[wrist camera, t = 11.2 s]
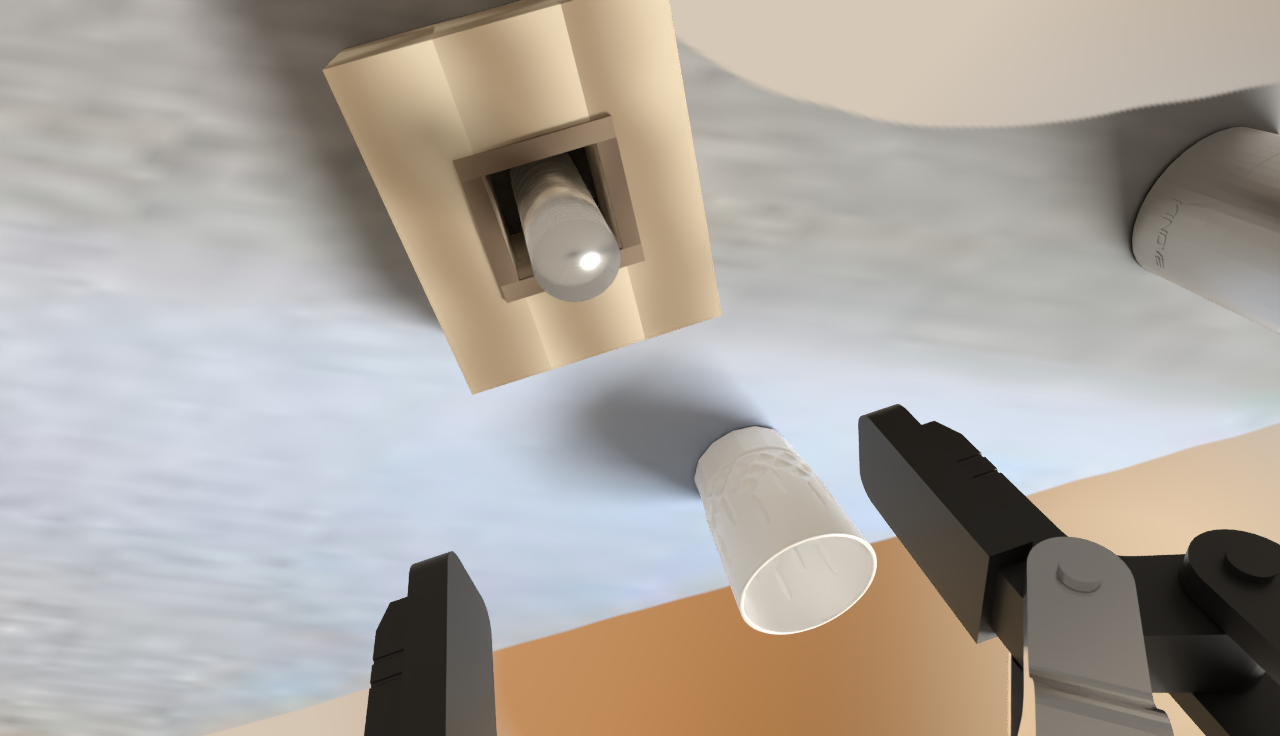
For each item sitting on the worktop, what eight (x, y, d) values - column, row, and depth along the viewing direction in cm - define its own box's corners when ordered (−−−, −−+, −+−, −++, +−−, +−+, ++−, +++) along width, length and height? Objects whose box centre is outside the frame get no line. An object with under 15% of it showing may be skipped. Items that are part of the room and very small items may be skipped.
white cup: (818, 427, 43) (903, 541, 35) (766, 515, 47) (832, 637, 39) (714, 408, 40) (781, 527, 32) (667, 503, 44) (716, 632, 36)
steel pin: (565, 134, 30) (608, 207, 22) (582, 196, 31) (628, 286, 23) (501, 153, 30) (519, 234, 21) (522, 215, 31) (547, 312, 23)
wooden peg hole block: (632, -31, 27) (666, -25, 23) (690, 271, 35) (723, 317, 31) (342, 49, 26) (321, 71, 22) (469, 340, 34) (472, 397, 30)
